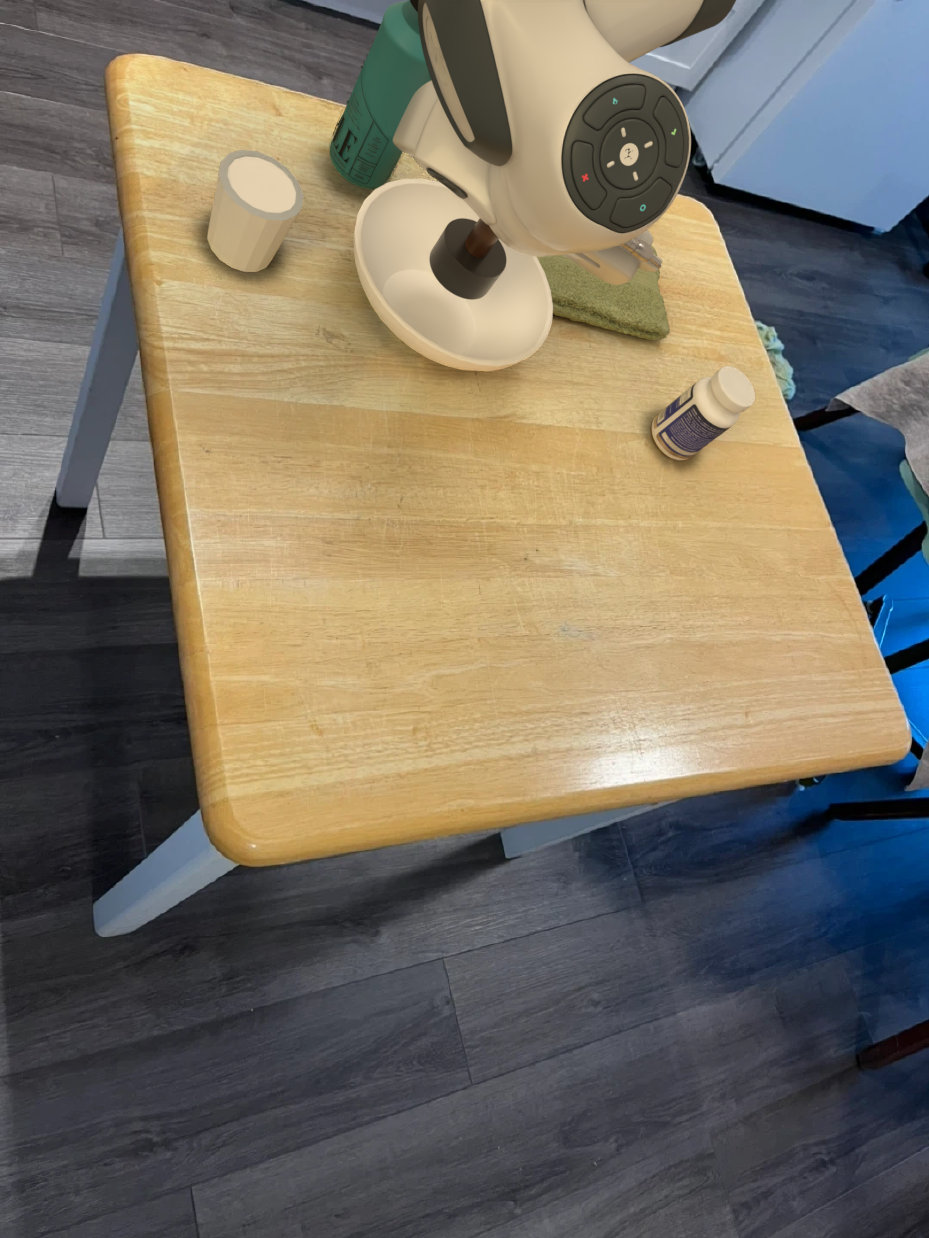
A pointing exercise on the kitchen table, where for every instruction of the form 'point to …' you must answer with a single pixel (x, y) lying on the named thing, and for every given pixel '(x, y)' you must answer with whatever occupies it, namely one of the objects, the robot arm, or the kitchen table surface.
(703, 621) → the kitchen table surface
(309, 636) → the kitchen table surface
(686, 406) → the pill bottle
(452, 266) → the paper towel holder
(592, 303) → the washcloth
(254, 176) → the shot glass
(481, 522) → the kitchen table surface
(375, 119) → the beverage bottle
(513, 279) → the bowl
